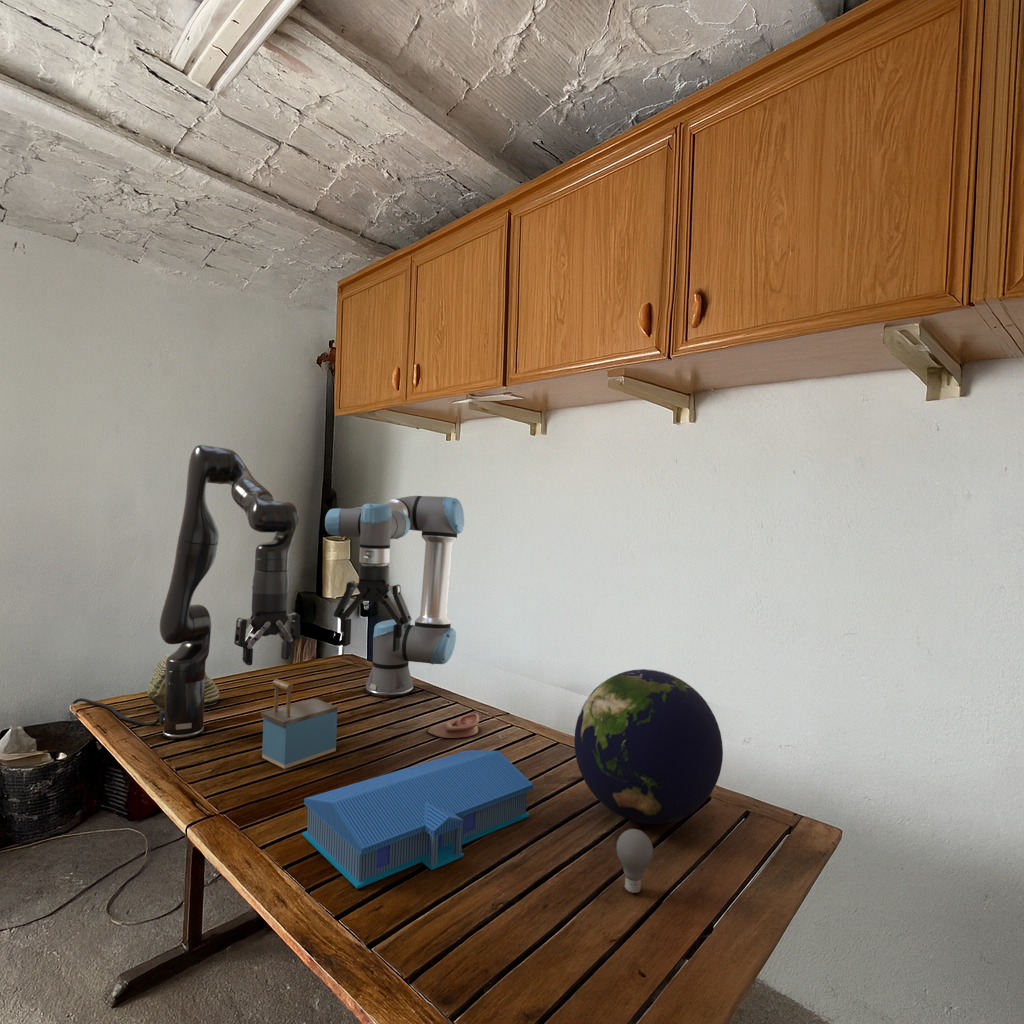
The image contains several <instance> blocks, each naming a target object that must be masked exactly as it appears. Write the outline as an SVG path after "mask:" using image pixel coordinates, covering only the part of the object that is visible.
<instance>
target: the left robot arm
mask: <svg viewBox="0 0 1024 1024" xmlns="http://www.w3.org/2000/svg"><path fill="white" fill-rule="evenodd" d="M187 467H188V468H187V479H186V489H185V498H184V499H185V502H184V508H183V513H182V519H181V524H180V528H179V533H178V537H177V544H176V549H175V557H174V563H173V567H172V572H171V578H170V582H169V587H168V589H167V590H168V591H167V594H166V598H165V600H164V603H163V608H162V611H161V615H160V618H159V634H160V637H161V640H162V641H164V643H166V644H168V645H179V644H180V646H179V647H178V648H177V650H175V651H174V652H173V653H172V654H171V653H170V654H169V655H170V656H169V657H168V658H167V660H166V674H165V705H164V710H162V711H159V710H158V712H159V713H158V717H157V718H156V719H155V720H154V721H151V722H144V721H141V720H136V719H133V718H131V717H127V716H125V715H124V714H122V713H120V712H119V711H118V710H116V709H115V707H113V706H111V705H108V704H106V703H102V702H98V701H93V700H92V699H91V700H90V699H87V698H82V697H81V698H79V697H78V698H76V699H74V701H72V703H71V704H72V705H76V704H77V703H79V702H83V703H87V704H90V705H93V706H98V707H102V708H105V709H107V710H109V711H110V712H112V713H113V714H114V715H115V716H117V717H118V718H120V719H122V720H124V721H126V722H129V723H132V724H136V725H139V726H147V727H148V726H150V727H151V726H155V725H157V724H158V723H160V725H163V730H162V737H164V738H166V739H169V740H185V739H190V738H191V739H192V738H194V737H197V736H199V735H202V734H203V732H204V730H205V729H204V727H205V725H204V722H205V721H204V718H205V706H204V693H205V672H206V664H207V663H206V662H207V659H208V657H209V653H210V647H211V636H212V635H211V634H212V617H211V614H210V612H209V610H208V609H207V607H206V606H205V605H202V604H192V599H193V596H194V593H195V591H196V590H197V588H198V586H199V585H200V583H201V582H202V580H204V578H205V577H206V575H207V574H208V573H209V571H210V569H211V568H212V566H213V564H214V563H215V560H216V557H217V553H218V552H217V551H218V546H219V541H220V532H219V529H218V526H217V525H216V522H215V520H214V518H213V516H212V514H211V512H210V510H209V507H208V504H207V500H206V499H207V497H206V488H207V484H217V485H230V486H231V488H230V495H231V498H232V500H233V501H234V502H235V504H236V505H237V506H238V507H239V508H240V509H241V510H242V511H243V512H244V513H245V516H246V519H247V521H248V522H247V523H248V525H249V527H250V528H251V529H252V530H254V531H256V532H257V533H264V534H265V533H275V534H274V536H273V538H272V539H271V540H269V541H267V542H263V543H260V544H258V545H257V546H256V548H255V554H254V555H255V556H254V572H253V578H252V586H251V589H252V590H251V592H252V593H251V615H250V618H242V617H238V618H236V623H235V632H234V641H233V642H234V645H235V646H237V647H239V648H242V662H243V663H244V664H245V665H246V666H252V665H253V662H254V661H253V657H254V648H253V647H254V645H255V644H256V643H257V642H258V641H259V640H260V639H261V637H269V636H277V635H279V638H280V639H281V640H282V642H281V651H280V653H281V654H280V657H281V660H284V661H287V660H289V659H290V657H291V655H292V643H293V642H294V641H295V640H299V639H300V638H301V614H299V613H297V612H294V611H292V612H289V613H288V612H287V611H288V607H289V606H288V604H289V585H290V584H289V580H290V579H289V559H290V557H289V554H290V550H291V547H292V545H293V540H294V538H295V535H296V531H297V528H298V526H299V520H300V516H299V510H298V508H297V507H296V505H295V504H294V502H290V501H283V500H282V501H278V500H277V501H276V500H275V499H274V496H273V495H272V493H271V492H270V491H269V490H268V489H267V488H266V487H264V486H263V485H262V484H261V483H260V482H259V481H258V480H257V479H255V478H254V476H253V475H252V472H250V470H249V469H248V467H247V466H246V464H245V462H244V461H243V460H242V458H241V456H240V455H239V454H238V453H237V452H236V451H234V450H232V449H230V448H226V447H218V446H213V445H206V444H205V445H204V444H198V445H196V446H195V447H194V448H193V450H192V451H191V453H190V457H189V461H188V466H187ZM287 622H288V623H289V631H288V630H287V628H286V626H285V625H286V624H287ZM250 625H251V627H252V628H251V629H250V630H249V631H248V633H247V629H248V628H249V626H250ZM246 634H247V636H246ZM97 702H98V703H97Z"/></svg>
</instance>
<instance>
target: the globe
mask: <svg viewBox="0 0 1024 1024" xmlns="http://www.w3.org/2000/svg"><path fill="white" fill-rule="evenodd" d="M573 741H574V754H575V758H576V759H575V760H576V763H577V766H578V769H579V772H580V775H581V777H582V779H583V781H584V782H585V784H586V786H587V787H588V789H589V790H590V792H591V793H592V794H593V796H594V797H595V798H596V799H597V800H598V801H599V802H600V803H601V804H602V805H603V806H604V807H606V808H607V809H608V810H610V811H611V812H613V813H614V814H615V815H617V816H620V817H622V818H624V819H626V820H628V821H631V822H634V823H639V824H645V825H663V824H668V823H672V822H676V821H679V820H682V819H684V818H686V817H688V816H689V815H692V813H694V812H695V811H697V810H698V809H699V808H700V807H701V806H702V805H703V804H704V803H705V802H706V801H707V800H708V799H709V797H710V796H711V794H712V793H713V791H714V789H715V787H716V786H717V783H718V781H719V778H720V774H721V770H722V766H723V760H724V748H723V739H722V733H721V730H720V727H719V724H718V721H717V718H716V716H715V714H714V712H713V710H712V709H711V707H710V705H709V704H708V702H707V701H706V700H705V698H704V697H703V696H702V695H701V694H700V693H699V692H698V691H697V689H695V688H694V687H692V686H691V685H690V684H689V683H687V682H686V681H684V680H682V678H681V679H680V678H679V677H677V676H675V675H673V674H671V673H667V672H664V671H662V670H661V671H660V670H657V669H651V668H641V669H640V668H639V669H631V670H626V671H622V672H620V673H618V674H614V675H612V676H611V677H608V678H606V680H604V681H603V682H602V683H600V684H599V685H598V686H597V687H595V688H594V689H593V690H592V692H591V693H590V694H589V695H588V697H587V698H586V700H585V701H584V703H583V705H582V707H581V708H580V711H579V713H578V716H577V719H576V723H575V729H574V740H573Z"/></svg>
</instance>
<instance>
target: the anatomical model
mask: <svg viewBox="0 0 1024 1024" xmlns="http://www.w3.org/2000/svg"><path fill="white" fill-rule="evenodd" d="M479 722H480V716H479V714H478V713H476V712H474V713H469V714H465V715H462V716H459V717H456V718H453V719H451V720H447V721H443V722H440V723H437V724H435V725H433V726H432V727H430V728H428V730H427V733H428V734H430V735H432V736H436V737H438V738H444V739H458V738H459V739H460V738H466V737H467V738H468V737H471V736H474V735H476V734H478V732H479V727H478V726H477V725H478V724H479Z"/></svg>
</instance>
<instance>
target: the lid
mask: <svg viewBox="0 0 1024 1024" xmlns="http://www.w3.org/2000/svg"><path fill="white" fill-rule="evenodd" d="M271 685H272V686H273V687H274V695H273V696H274V697H273V708H271V709H268V710H265V711H261V712H260V717H261V718H262V719H263V718H265V719H268V720H270V721H272V722H274V723H277V724H279V725H281V726H286V725H290V724H293V723H297V722H300V721H303V720H307V719H310V718H314V717H317V716H321V715H324V714H328V713H331V712H334V711H337V712H338V706H337V705H334V704H332V703H329V702H326V701H323V700H321V699H318V698H316V697H315V698H314V697H313V698H310V699H307V700H302V701H299V702H296V703H292V702H291V701H292V692H293V690H294V685H293V684H292V683H290V682H286V681H283V680H281V679H278V678H276V679H274V680H273V681H272V683H271ZM279 690H283V691H285V692H286V705H284V706H280V707H279V692H280V691H279Z"/></svg>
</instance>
